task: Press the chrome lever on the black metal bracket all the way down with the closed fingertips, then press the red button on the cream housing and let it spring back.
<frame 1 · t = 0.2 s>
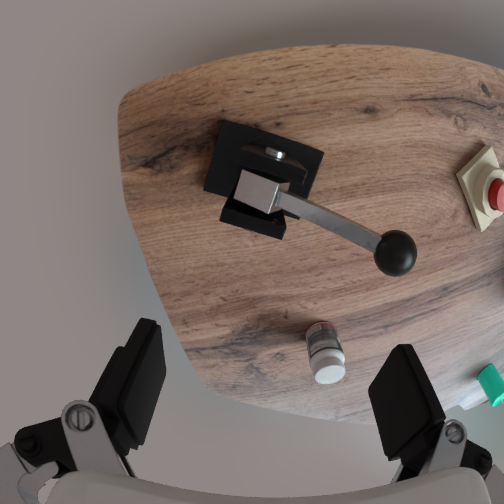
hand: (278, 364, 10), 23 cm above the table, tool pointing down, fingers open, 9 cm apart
button box: (482, 187, 27), on the table
pill bottle: (320, 331, 38), on the table
candle: (485, 371, 45), on the table
lever: (328, 219, 17), point 13 cm above the table, hinge at 25.0°
button: (500, 195, 23), point 4 cm above the table, slide at 0.1 cm
bracket: (262, 168, 29), on the table
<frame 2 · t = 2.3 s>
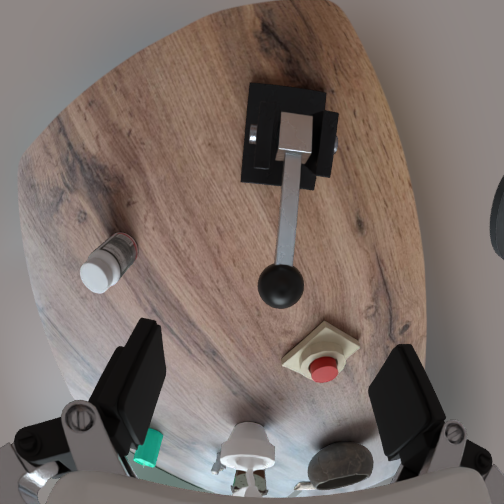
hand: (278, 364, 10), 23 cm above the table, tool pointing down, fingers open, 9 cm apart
button box: (320, 350, 40), on the table
lighter: (220, 453, 62), on the table
pill bottle: (124, 247, 34), on the table
newspaper: (321, 483, 78), on the table
candle: (153, 432, 58), on the table
food container: (247, 469, 68), on the table
lever: (288, 209, 17), point 13 cm above the table, hinge at 25.0°
potted plant: (247, 426, 53), on the table
button: (323, 369, 37), point 4 cm above the table, slide at 0.1 cm
bracket: (282, 135, 27), on the table
bowl: (337, 445, 58), on the table
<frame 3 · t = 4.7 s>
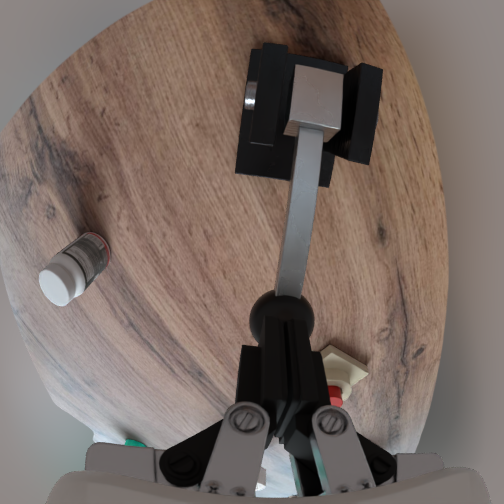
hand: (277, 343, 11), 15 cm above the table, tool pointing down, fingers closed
button box: (322, 375, 34), on the table
pill bottle: (95, 249, 27), on the table
candle: (137, 443, 52), on the table
lever: (299, 212, 12), point 12 cm above the table, hinge at 16.8°
potted plant: (237, 446, 46), on the table
button: (326, 399, 30), point 4 cm above the table, slide at 0.1 cm
bracket: (291, 116, 21), on the table
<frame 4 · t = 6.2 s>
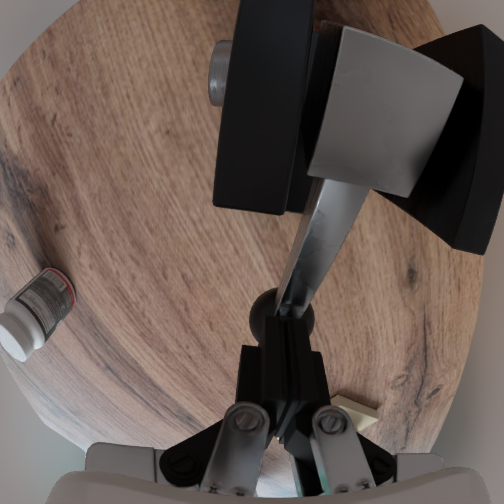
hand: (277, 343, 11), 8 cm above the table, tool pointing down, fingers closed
button box: (327, 421, 27), on the table
pill bottle: (60, 286, 21), on the table
lever: (311, 254, 8), point 9 cm above the table, hinge at -26.6°, touching gripper
bracket: (301, 118, 14), on the table
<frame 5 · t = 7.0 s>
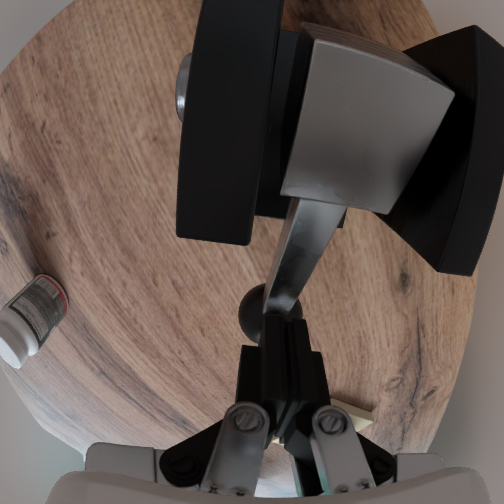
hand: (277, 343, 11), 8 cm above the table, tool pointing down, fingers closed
button box: (321, 424, 27), on the table
pill bottle: (53, 293, 20), on the table
lever: (294, 258, 8), point 8 cm above the table, hinge at -30.6°
bracket: (289, 123, 14), on the table
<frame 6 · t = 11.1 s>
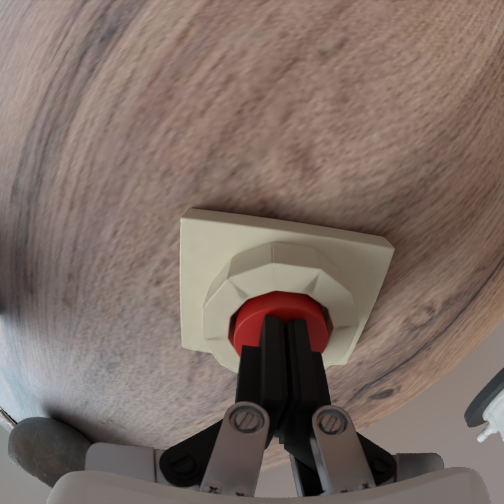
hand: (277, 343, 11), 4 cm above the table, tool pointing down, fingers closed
button box: (278, 291, 15), on the table
newspaper: (21, 429, 42), on the table
button: (280, 328, 12), point 3 cm above the table, slide at -1.0 cm, touching gripper
bowl: (72, 431, 29), on the table
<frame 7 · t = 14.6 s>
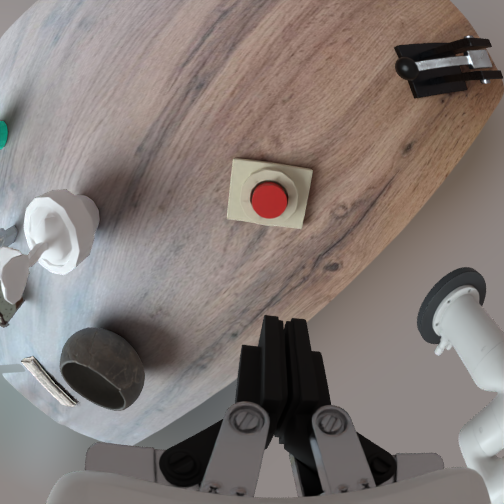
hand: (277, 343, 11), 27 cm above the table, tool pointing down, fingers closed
button box: (268, 192, 35), on the table
lighter: (15, 229, 39), on the table
newspaper: (49, 380, 63), on the table
candle: (1, 134, 31), on the table
food container: (12, 283, 46), on the table
lever: (443, 62, 19), point 8 cm above the table, hinge at -30.6°
potted plant: (83, 212, 38), on the table
button: (269, 200, 32), point 4 cm above the table, slide at 0.1 cm
bracket: (431, 68, 25), on the table
bowl: (115, 345, 50), on the table
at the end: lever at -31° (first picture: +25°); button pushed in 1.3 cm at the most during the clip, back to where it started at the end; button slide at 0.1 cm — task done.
